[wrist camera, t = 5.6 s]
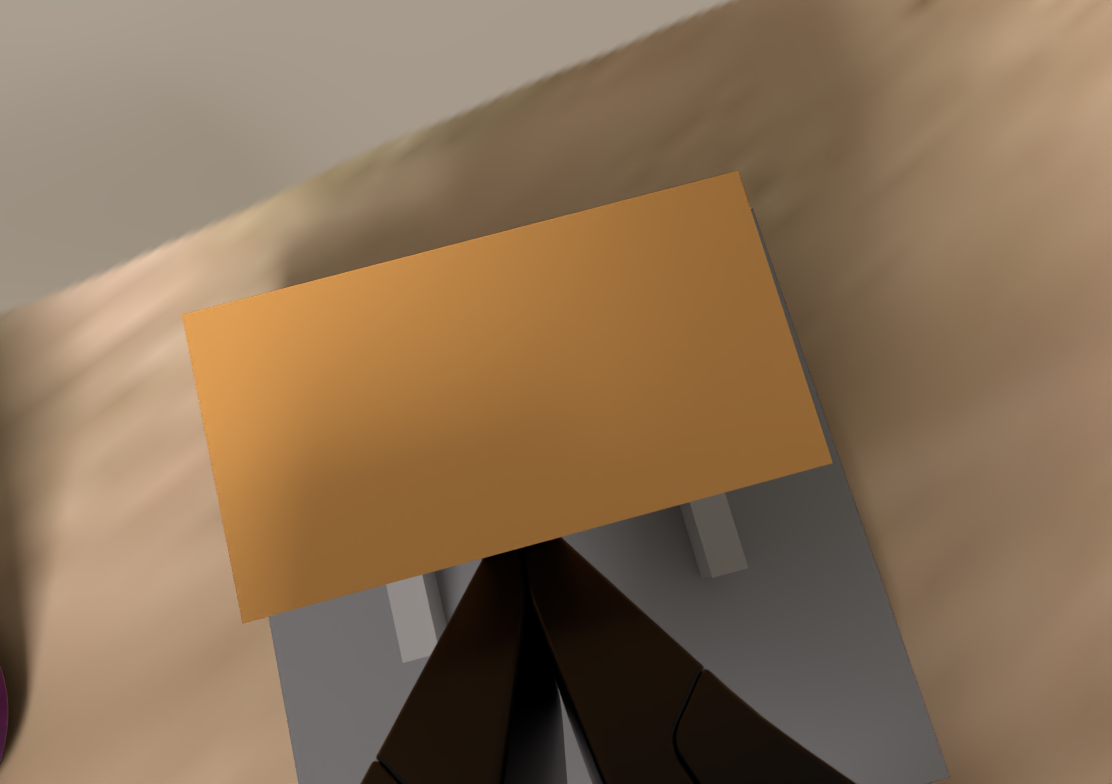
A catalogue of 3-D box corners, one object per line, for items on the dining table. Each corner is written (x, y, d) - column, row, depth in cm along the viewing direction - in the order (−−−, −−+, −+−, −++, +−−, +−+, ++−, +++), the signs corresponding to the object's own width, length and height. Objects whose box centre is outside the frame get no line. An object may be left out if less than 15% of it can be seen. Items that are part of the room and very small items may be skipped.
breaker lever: (681, 496, 18) (833, 462, 8) (427, 564, 18) (243, 623, 8) (642, 364, 19) (738, 169, 8) (395, 429, 19) (182, 314, 8)
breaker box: (889, 742, 21) (986, 797, 16) (370, 889, 21) (304, 993, 16) (727, 259, 24) (767, 178, 19) (272, 379, 24) (189, 328, 19)
